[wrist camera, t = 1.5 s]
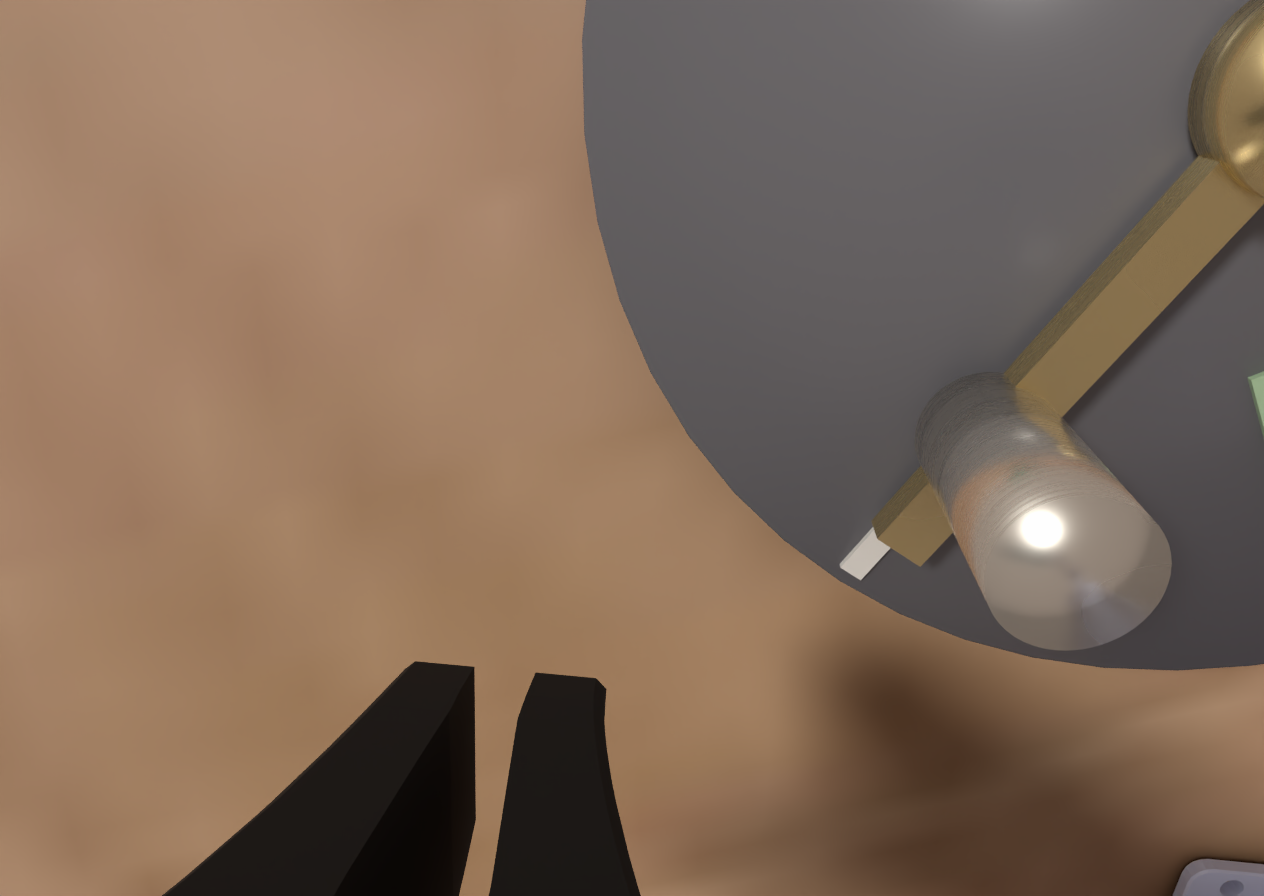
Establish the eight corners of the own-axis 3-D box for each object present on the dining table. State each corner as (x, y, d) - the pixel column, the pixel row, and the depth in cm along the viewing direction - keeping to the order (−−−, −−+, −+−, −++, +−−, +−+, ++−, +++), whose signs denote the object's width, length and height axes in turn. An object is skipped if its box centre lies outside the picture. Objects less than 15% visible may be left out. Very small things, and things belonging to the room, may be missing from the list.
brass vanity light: (1310, -77, 14) (1590, -121, 9) (1463, 57, 14) (1795, 74, 10) (824, 490, 18) (862, 642, 14) (957, 577, 18) (1035, 750, 14)
